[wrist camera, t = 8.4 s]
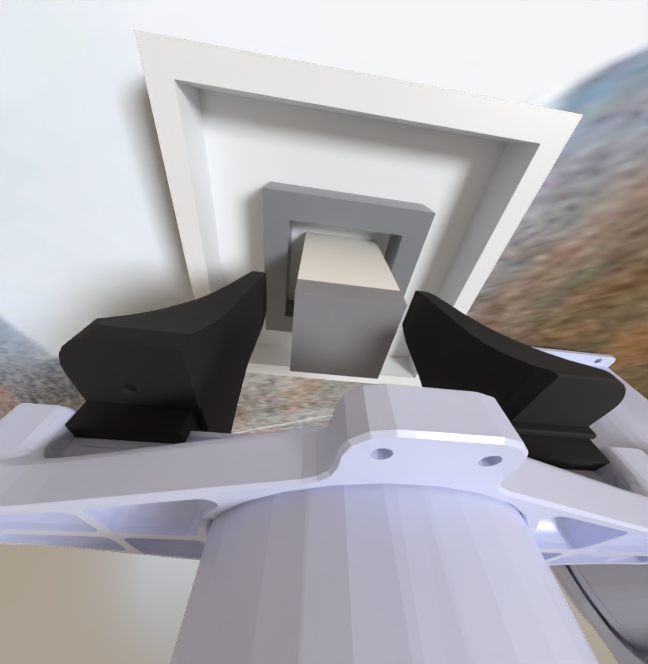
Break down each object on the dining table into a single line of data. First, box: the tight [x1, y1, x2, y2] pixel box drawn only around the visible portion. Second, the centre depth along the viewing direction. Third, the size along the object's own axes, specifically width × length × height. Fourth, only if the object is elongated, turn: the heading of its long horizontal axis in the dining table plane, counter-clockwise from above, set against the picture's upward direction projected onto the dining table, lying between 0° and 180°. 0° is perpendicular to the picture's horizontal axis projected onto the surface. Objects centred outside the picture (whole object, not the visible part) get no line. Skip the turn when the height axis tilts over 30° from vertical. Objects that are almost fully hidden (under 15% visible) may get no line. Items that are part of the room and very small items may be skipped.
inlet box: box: [134, 30, 583, 387], centre depth 15 cm, size 16×16×3 cm
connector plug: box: [290, 231, 407, 379], centre depth 13 cm, size 4×4×7 cm
